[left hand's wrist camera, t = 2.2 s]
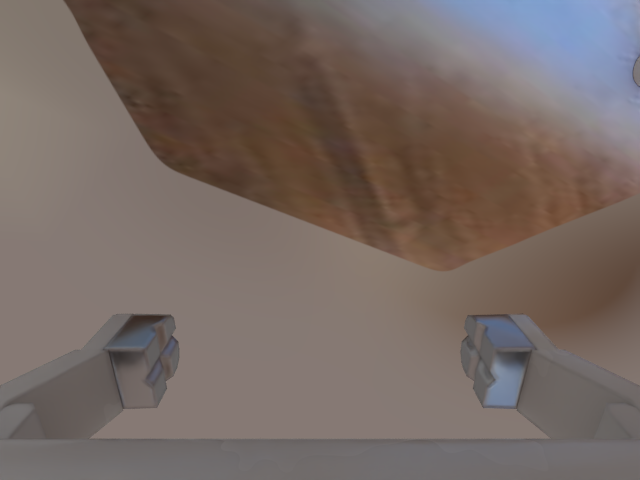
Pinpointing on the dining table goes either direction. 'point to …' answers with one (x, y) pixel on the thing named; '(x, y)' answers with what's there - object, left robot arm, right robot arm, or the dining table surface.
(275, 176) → the dining table surface
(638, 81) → the bottle
